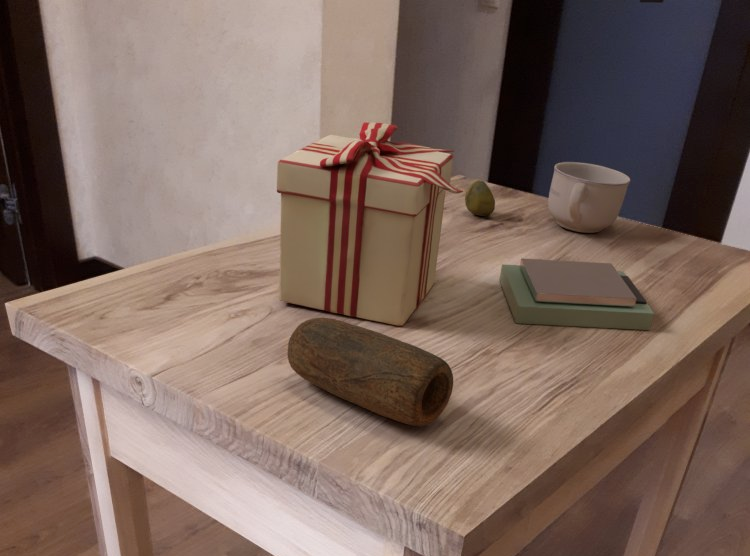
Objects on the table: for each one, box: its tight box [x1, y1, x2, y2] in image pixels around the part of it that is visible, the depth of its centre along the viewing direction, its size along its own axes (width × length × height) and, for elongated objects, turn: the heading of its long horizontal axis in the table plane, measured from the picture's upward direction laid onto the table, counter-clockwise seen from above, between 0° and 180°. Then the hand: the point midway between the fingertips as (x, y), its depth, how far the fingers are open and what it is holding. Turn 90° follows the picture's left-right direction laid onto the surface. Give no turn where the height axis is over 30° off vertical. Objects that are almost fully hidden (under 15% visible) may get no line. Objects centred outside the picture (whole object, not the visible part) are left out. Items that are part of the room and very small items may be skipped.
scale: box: [499, 264, 655, 331], centre depth 92 cm, size 15×13×2 cm
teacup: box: [547, 161, 631, 234], centre depth 114 cm, size 14×11×8 cm
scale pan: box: [519, 257, 637, 307], centre depth 91 cm, size 11×11×1 cm
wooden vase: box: [287, 317, 454, 427], centre depth 69 cm, size 15×7×7 cm, turn 55°
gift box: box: [276, 122, 464, 327], centre depth 87 cm, size 17×18×17 cm
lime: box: [464, 179, 496, 217], centre depth 117 cm, size 4×5×5 cm
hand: (637, 1), depth 93 cm, fingers open, 13 cm apart
